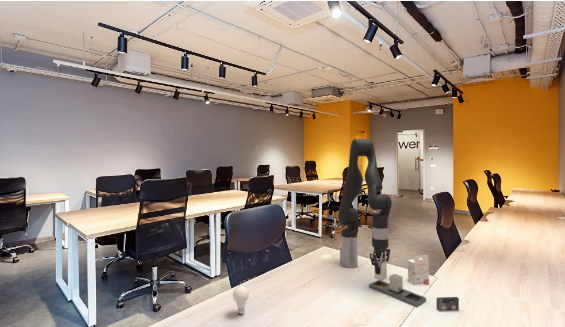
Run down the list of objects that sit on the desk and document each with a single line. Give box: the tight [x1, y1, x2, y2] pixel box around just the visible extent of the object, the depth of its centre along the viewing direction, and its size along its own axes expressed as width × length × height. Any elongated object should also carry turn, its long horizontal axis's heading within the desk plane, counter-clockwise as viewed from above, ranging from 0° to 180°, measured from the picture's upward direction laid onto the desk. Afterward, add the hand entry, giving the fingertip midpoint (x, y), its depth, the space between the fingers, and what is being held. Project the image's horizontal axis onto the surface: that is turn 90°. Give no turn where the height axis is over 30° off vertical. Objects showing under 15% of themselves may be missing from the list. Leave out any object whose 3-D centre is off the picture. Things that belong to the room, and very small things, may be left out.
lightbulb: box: [232, 285, 250, 315], centre depth 113 cm, size 6×6×11 cm
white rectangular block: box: [373, 260, 388, 281], centre depth 133 cm, size 4×4×8 cm
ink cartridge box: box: [407, 254, 430, 286], centre depth 138 cm, size 9×5×15 cm, turn 105°
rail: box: [368, 279, 427, 308], centre depth 126 cm, size 23×8×2 cm, turn 37°
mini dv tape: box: [436, 296, 460, 312], centre depth 113 cm, size 8×2×6 cm, turn 92°
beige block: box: [388, 273, 404, 295], centre depth 126 cm, size 4×4×8 cm
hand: (380, 272), depth 133 cm, fingers closed on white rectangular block, 4 cm apart
